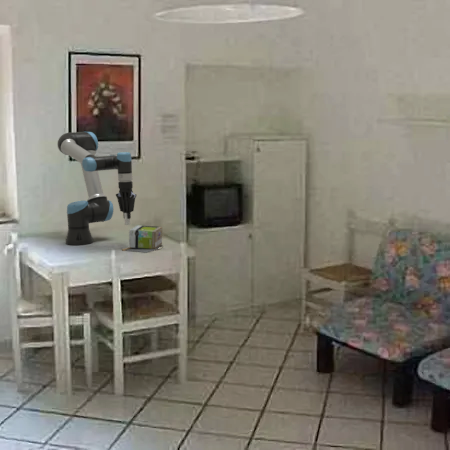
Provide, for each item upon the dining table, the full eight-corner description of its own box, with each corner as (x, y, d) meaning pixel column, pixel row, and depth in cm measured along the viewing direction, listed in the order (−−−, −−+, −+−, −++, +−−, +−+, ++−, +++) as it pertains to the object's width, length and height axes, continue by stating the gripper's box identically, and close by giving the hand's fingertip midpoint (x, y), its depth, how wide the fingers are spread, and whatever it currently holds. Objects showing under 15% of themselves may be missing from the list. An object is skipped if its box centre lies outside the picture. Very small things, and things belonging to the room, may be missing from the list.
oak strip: (121, 250, 406) (121, 249, 406) (143, 244, 421) (143, 243, 421) (124, 250, 405) (124, 249, 405) (145, 245, 420) (145, 243, 420)
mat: (125, 250, 406) (125, 250, 406) (145, 245, 419) (145, 245, 419) (146, 252, 398) (146, 252, 398) (165, 247, 411) (165, 247, 411)
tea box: (128, 248, 408) (155, 249, 406) (128, 229, 406) (155, 230, 404) (136, 242, 423) (162, 244, 420) (136, 224, 421) (162, 226, 419)
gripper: (111, 181, 410) (113, 224, 414) (129, 182, 403) (132, 226, 406) (120, 180, 416) (123, 222, 420) (139, 180, 409) (141, 224, 413)
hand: (127, 224), depth 413 cm, fingers closed
